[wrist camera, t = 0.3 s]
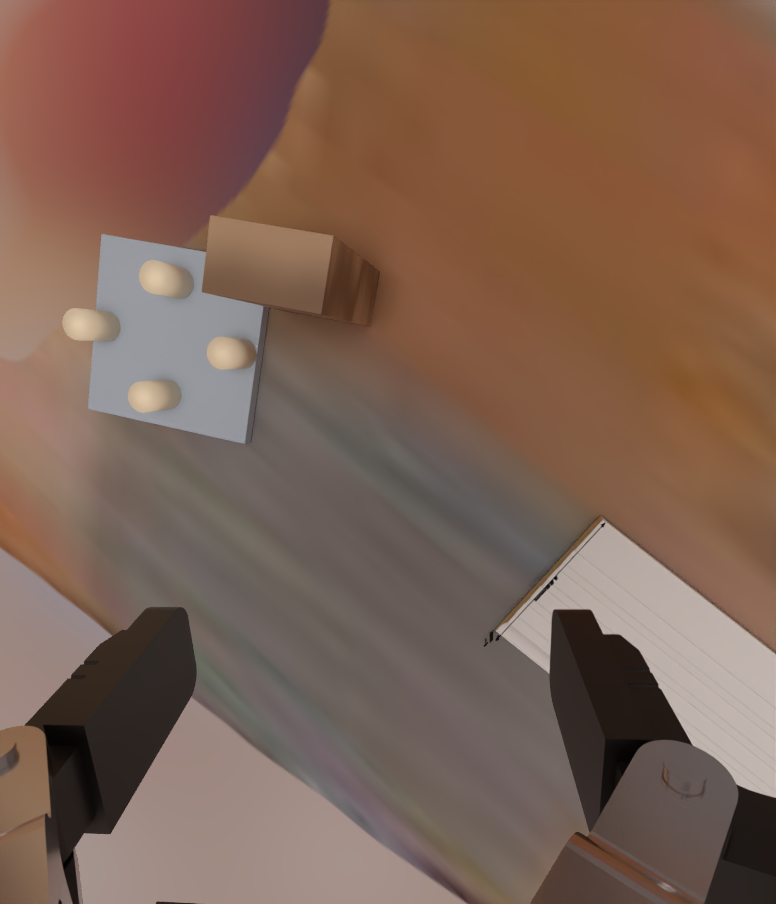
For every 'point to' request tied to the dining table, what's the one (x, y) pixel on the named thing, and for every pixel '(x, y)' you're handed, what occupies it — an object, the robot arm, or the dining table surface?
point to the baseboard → (665, 646)
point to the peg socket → (170, 342)
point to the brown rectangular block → (288, 271)
